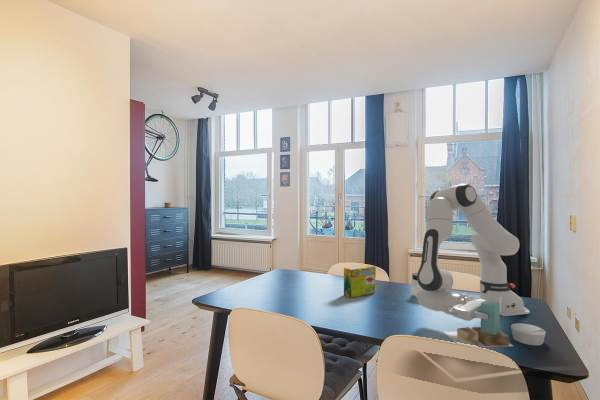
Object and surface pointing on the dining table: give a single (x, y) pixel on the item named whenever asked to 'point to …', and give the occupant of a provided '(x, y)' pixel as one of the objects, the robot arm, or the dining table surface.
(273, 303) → the dining table surface
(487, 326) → the teal block
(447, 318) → the dining table surface
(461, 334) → the oak cube
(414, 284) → the jar
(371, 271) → the fingerpaint box
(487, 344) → the walnut base
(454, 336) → the blueprint board
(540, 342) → the ramekin
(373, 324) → the dining table surface
